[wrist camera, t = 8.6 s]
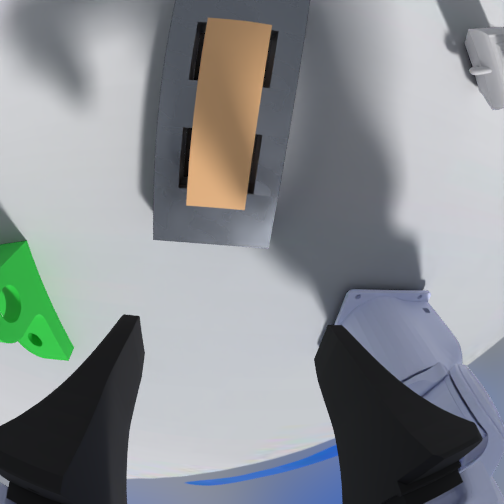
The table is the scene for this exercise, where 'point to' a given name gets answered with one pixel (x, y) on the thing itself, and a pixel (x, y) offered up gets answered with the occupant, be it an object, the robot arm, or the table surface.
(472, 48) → the stamp
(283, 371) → the table surface
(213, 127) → the tan wooden block
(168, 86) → the grey flat block
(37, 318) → the mechanical part
